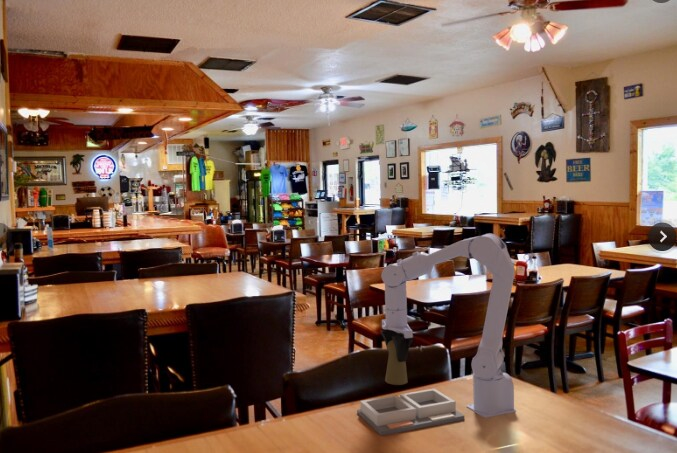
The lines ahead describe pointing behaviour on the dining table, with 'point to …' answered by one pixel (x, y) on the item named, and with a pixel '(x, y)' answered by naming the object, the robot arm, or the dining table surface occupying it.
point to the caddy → (409, 411)
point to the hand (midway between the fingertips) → (397, 358)
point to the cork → (395, 367)
